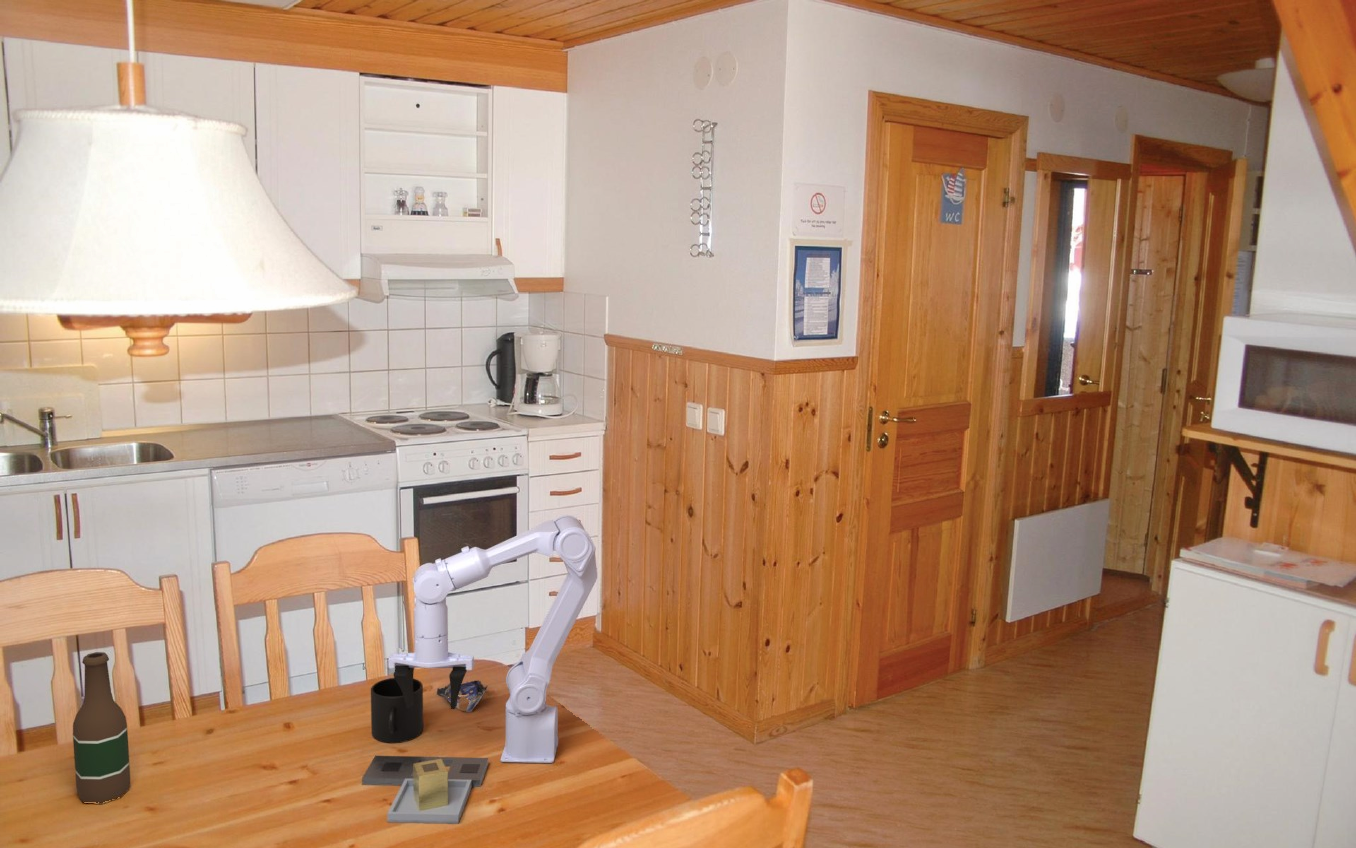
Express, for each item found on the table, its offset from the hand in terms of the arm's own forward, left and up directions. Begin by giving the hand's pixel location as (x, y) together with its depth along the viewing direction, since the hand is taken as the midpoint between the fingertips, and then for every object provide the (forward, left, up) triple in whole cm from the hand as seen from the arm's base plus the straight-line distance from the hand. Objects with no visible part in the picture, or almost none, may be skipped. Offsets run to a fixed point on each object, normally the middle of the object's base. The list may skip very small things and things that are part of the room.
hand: (431, 706), depth 181 cm
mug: (+9, -10, -11) cm, 17 cm away
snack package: (0, -26, -11) cm, 29 cm away
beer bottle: (+51, +13, -11) cm, 54 cm away
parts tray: (-3, +15, -10) cm, 18 cm away
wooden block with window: (-3, +14, -10) cm, 18 cm away
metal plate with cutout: (0, +5, -10) cm, 11 cm away
